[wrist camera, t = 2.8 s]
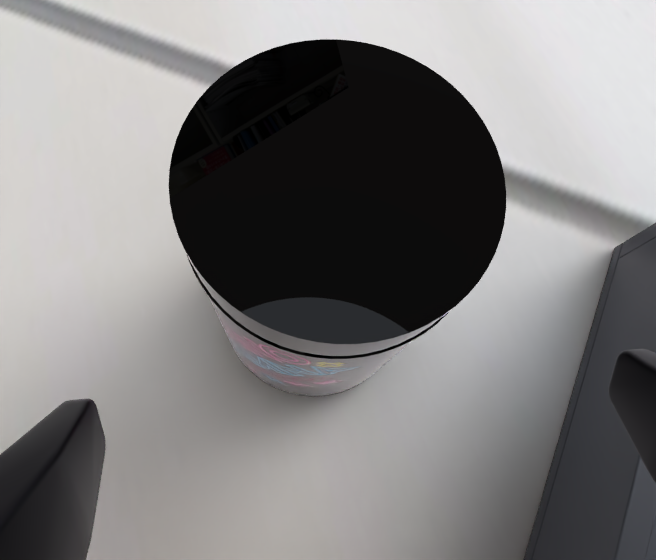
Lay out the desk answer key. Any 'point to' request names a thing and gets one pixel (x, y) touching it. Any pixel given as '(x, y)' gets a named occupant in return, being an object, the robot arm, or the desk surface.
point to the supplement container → (334, 208)
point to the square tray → (604, 432)
